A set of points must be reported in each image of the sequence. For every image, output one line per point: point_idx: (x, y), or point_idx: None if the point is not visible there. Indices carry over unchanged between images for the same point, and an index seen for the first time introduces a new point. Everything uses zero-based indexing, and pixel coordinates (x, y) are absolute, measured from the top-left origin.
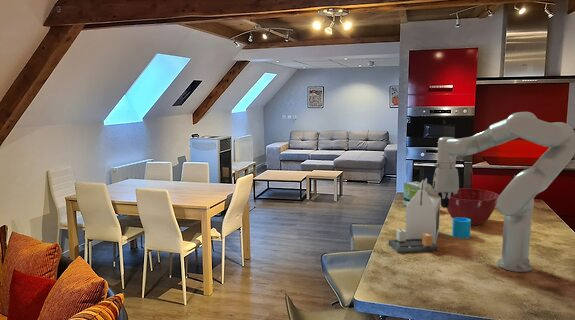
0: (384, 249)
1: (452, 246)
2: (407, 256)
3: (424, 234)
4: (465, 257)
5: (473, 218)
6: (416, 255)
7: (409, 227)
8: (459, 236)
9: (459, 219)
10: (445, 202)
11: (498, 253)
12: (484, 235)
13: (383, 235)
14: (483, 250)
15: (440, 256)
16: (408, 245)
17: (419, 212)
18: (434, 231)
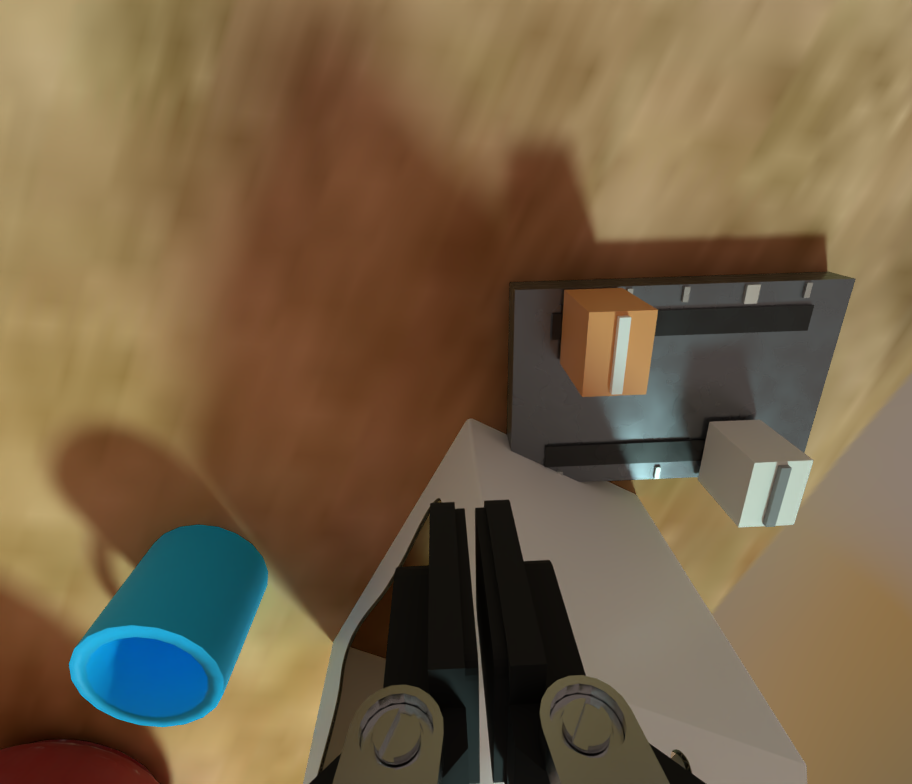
0: (873, 354)
1: (351, 369)
2: (807, 176)
3: (639, 369)
4: (344, 87)
5: (37, 770)
6: (725, 192)
7: (661, 559)
8: (230, 540)
9: (162, 702)
10: (506, 581)
11: (13, 160)
12: (37, 565)
13: (713, 605)
14: (129, 252)
15: (547, 142)
16: (741, 329)
17: (654, 659)
18: (481, 473)
